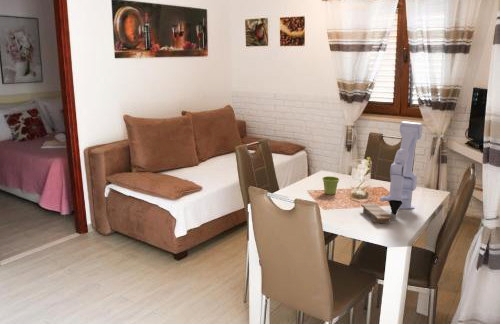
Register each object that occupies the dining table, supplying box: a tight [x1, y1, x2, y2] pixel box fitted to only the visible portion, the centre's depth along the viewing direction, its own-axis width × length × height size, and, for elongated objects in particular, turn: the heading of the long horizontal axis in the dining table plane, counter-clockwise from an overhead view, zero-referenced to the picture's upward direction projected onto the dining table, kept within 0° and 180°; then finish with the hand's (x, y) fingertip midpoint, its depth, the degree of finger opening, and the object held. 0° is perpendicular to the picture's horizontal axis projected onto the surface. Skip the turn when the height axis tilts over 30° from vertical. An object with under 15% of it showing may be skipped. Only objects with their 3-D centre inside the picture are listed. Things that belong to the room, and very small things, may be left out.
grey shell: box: [383, 209, 397, 221], centre depth 219 cm, size 8×10×2 cm
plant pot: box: [322, 176, 340, 196], centre depth 254 cm, size 9×9×9 cm
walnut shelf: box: [360, 203, 393, 224], centre depth 218 cm, size 20×8×4 cm, turn 9°
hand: (393, 214), depth 220 cm, fingers closed
